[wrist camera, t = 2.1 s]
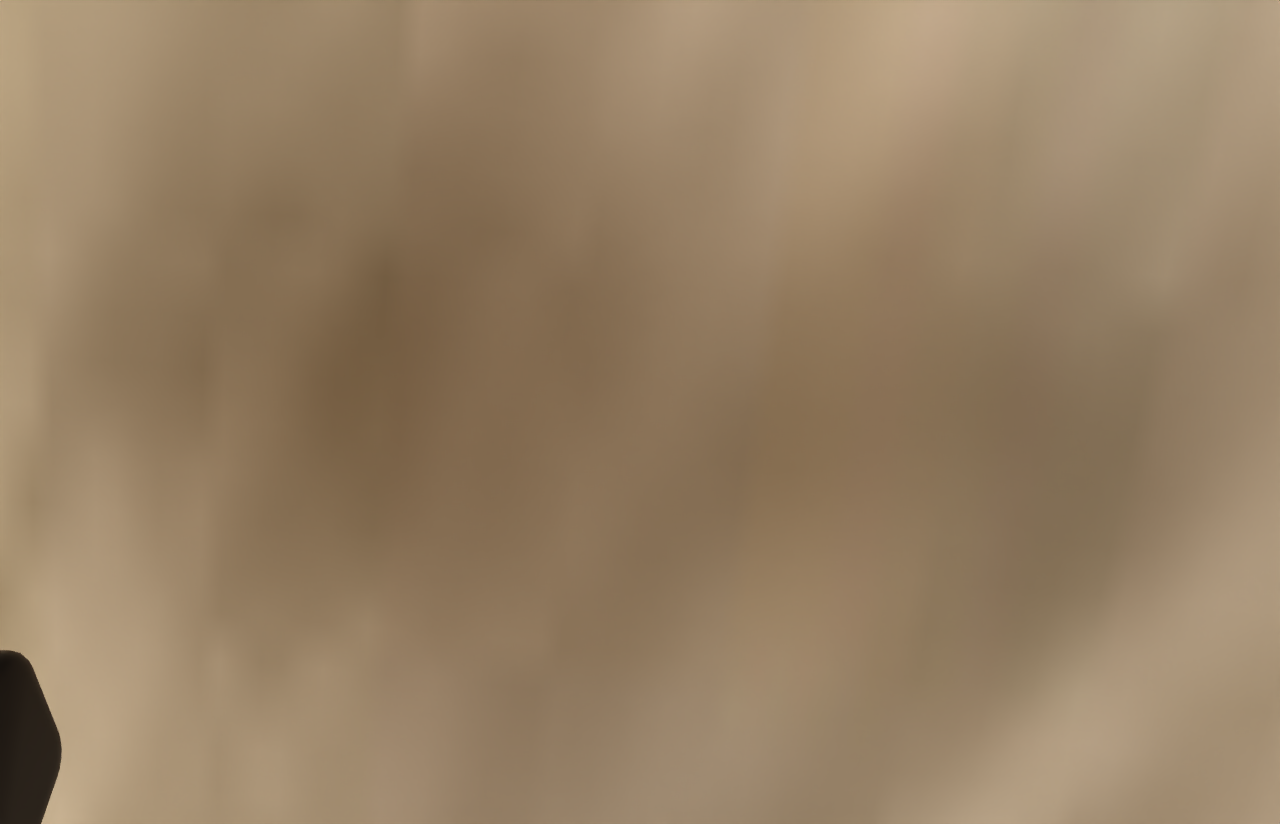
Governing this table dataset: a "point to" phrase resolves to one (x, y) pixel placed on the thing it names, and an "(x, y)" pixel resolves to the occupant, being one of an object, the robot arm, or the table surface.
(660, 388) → the table surface
